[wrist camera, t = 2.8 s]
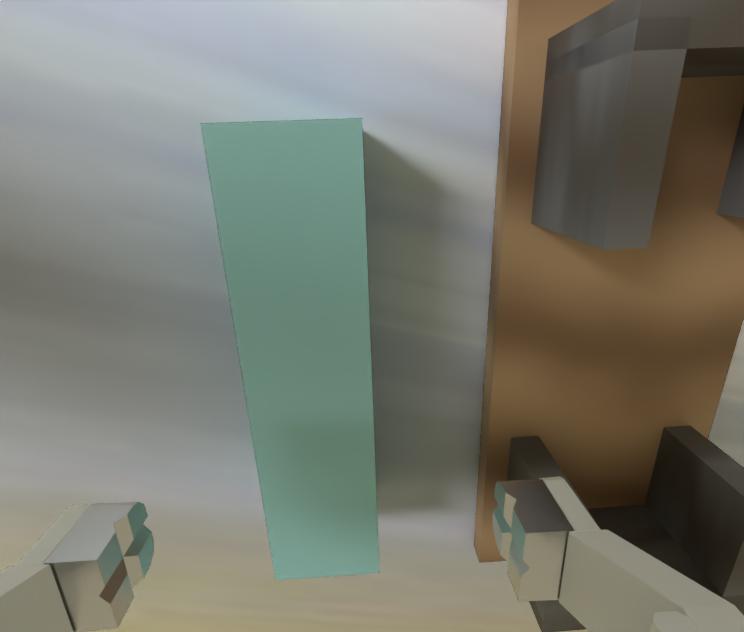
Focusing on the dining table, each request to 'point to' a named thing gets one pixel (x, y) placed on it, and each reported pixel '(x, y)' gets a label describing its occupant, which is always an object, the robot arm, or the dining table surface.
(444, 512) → the dining table surface
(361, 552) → the slat
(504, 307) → the sharpening stone holder
